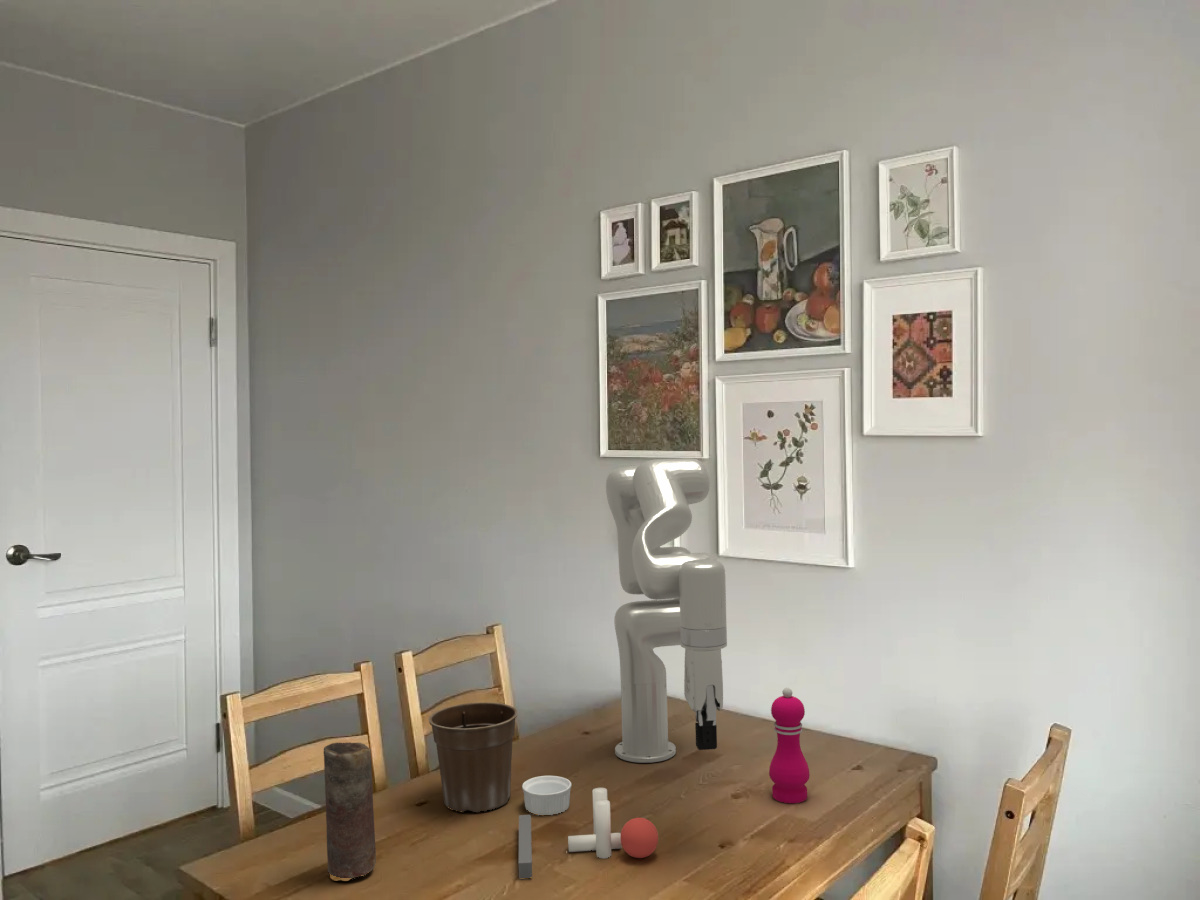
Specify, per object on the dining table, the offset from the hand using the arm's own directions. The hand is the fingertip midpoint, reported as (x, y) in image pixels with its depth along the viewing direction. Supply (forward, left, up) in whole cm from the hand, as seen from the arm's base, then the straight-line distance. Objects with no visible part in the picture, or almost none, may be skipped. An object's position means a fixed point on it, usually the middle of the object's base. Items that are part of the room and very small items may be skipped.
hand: (706, 747), depth 159 cm
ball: (+4, -12, -12) cm, 18 cm away
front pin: (0, -14, -14) cm, 20 cm away
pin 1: (-3, -17, -15) cm, 24 cm away
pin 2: (+3, -17, -15) cm, 24 cm away
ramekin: (-18, -26, -16) cm, 35 cm away
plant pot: (-23, -39, -16) cm, 48 cm away
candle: (+3, -57, -16) cm, 59 cm away
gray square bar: (0, -30, -15) cm, 34 cm away
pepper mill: (-16, +18, -16) cm, 29 cm away
